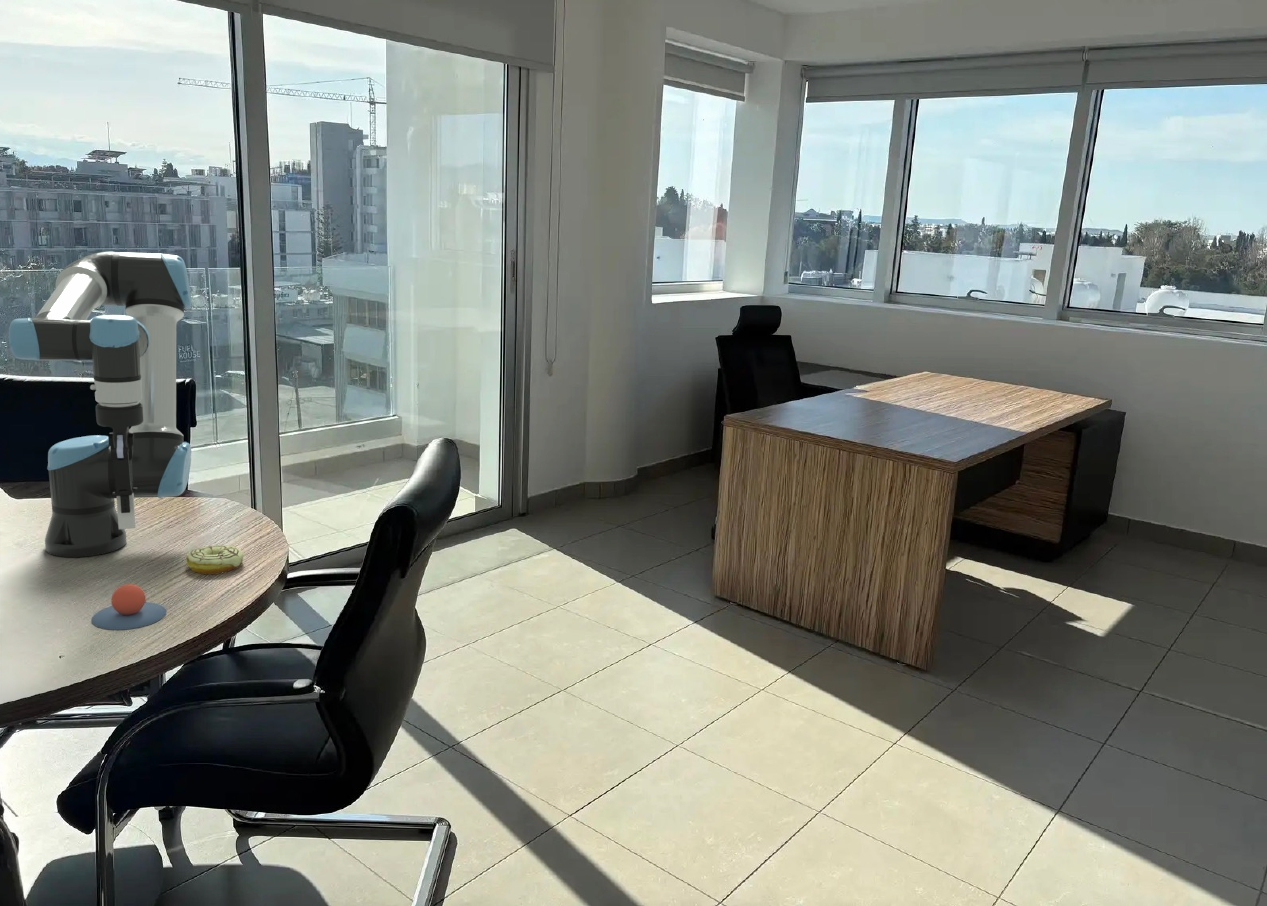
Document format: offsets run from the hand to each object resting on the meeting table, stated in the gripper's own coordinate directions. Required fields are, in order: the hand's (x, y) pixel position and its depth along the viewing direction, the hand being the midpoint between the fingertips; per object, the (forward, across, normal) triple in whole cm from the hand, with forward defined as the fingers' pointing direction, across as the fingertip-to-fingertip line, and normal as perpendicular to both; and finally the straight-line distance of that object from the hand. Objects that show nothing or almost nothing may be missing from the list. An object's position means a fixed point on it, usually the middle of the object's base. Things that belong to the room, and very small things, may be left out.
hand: (127, 527), depth 180 cm
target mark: (+14, +9, 0) cm, 17 cm away
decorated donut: (+14, -13, +15) cm, 25 cm away
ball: (+11, +8, 0) cm, 14 cm away
